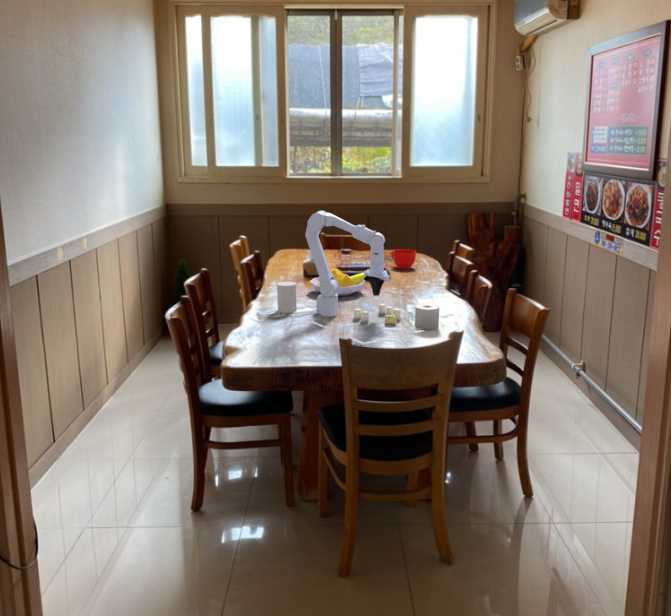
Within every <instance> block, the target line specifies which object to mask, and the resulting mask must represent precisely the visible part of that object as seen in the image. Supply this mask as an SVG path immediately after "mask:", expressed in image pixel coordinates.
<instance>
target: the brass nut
mask: <svg viewBox="0 0 671 616" xmlns="http://www.w3.org/2000/svg"><path fill="white" fill-rule="evenodd" d="M396 319H397V317H396V316H394V315H386V316H385V323H384V325H386V326H395V325H397V321H396Z"/></svg>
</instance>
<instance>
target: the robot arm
mask: <svg viewBox="0 0 671 616" xmlns="http://www.w3.org/2000/svg"><path fill="white" fill-rule="evenodd" d="M333 226H334V227H336V228H338V229H341V230H344V231H345V232H348V233H350V234H352V237H353V239H356V240H358V241H360V242H363V243H364V244H368V245H369V247H370V251H369V270H370V271H368V269H367V270H364V271H363V272H364V275H365V276H368V277H370V278H368V279H367V281H368V282H369V285H370V287H371V289H372V296H376V297H378V296H380V293H381V290H382V287H383V285H384V283H385V282H389V281H391V277H390V276H389V275H388V274H386V272H384V271H385V247H384V244H385V242H386V238H385V236H384V234H382V233H381V232H378V231H376V230H372V229H369V228H368V227H366V225H365V224H357V225H354V224H352V223H350V222H348V221H346V220H344V219H343V218H341V217H338V216H337V215H335V214H333V213H330V212H327V211H325V210H317V211H316V212H315V213H312V214H311V215H310V217H309V218H308V220H307V225H306V230H305V233H304V234H305V239H306V241H307V244H308V248H309V251H310V253H311V256H312V259H313V262H314V265H315V268H316V271H317V274H318V277H319V282H320V292H319V293H320V294H319V295H318V296H317V297H316V301H315V302H316V306H315V307H316V308H315V309H316V312H315V313H314V314H319V315H320V316H323V317H330V318H331V317H337V316H338V315H339V296H338V294H337V292H336V290H337V289H338V282H337V280H336V279H335V278H334V276H333V274H332V273H331V271H330V269H331V268H330V267H329V266H330V265H329V263H328V260H327V258H326V255H325V252H324V249H323V245H322V242H321V239H320V237H319V235H320V233H321V231H322V229H323V228H324V227H327V228H328V227H333Z"/></svg>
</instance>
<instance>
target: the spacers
mask: <svg viewBox="0 0 671 616" xmlns="http://www.w3.org/2000/svg"><path fill="white" fill-rule="evenodd" d="M369 312H370V311H367V310H362V309H361V308H354V309H353V318H354V319H355V320H354V321H356V320H360V319H361V322H363V323H362V324H364V323H367V322H369V315H370V313H369ZM378 313H379V315H385V314H386V315H394V316H396V317H397V319H396V320H397V321H401V320H400V318H401V309H400V308H394V306H387V305H386V304H385V303H379V304H378ZM361 322H360V323H361Z"/></svg>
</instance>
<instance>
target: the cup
mask: <svg viewBox="0 0 671 616" xmlns="http://www.w3.org/2000/svg"><path fill="white" fill-rule="evenodd" d="M276 285H277V289H276V290H277V295H276V296H277V312H278V313H282V314H291V313H292V312H293V313H296V312H297V311H296V310H297V309H298V308H297V283H296V282H294V281H280V282H277V284H276ZM295 311H296V312H295Z"/></svg>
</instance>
